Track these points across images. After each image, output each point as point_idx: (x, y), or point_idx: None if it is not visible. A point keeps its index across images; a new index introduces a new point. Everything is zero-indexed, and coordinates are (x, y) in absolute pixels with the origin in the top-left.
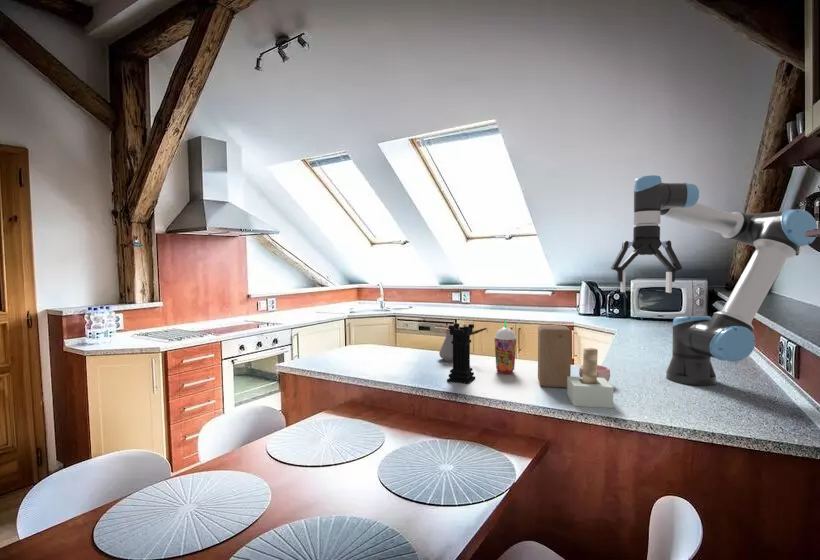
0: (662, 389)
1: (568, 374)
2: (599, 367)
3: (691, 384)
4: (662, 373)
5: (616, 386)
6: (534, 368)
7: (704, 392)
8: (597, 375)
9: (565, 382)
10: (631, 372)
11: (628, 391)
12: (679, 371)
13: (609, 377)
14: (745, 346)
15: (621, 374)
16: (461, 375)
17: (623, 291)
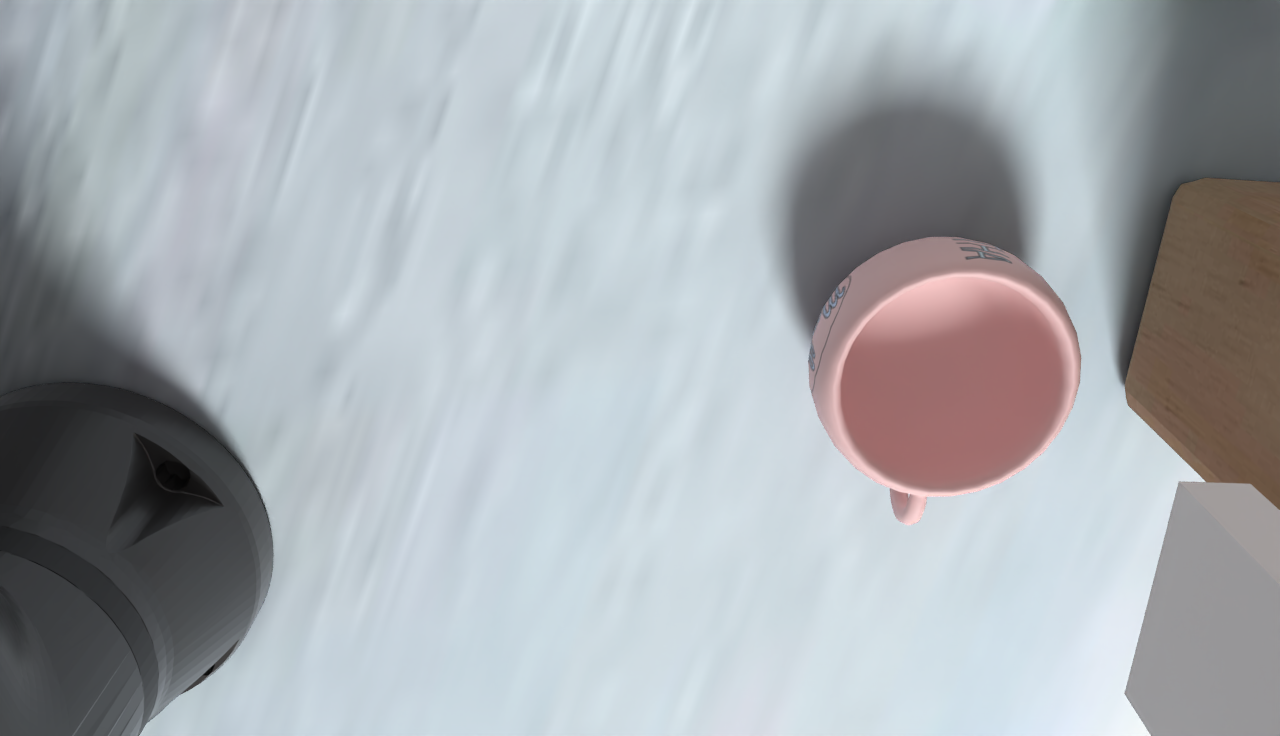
0: (411, 244)
1: (1250, 202)
2: (874, 458)
3: (139, 395)
4: (262, 695)
5: (756, 288)
6: None
7: (102, 196)
8: (966, 246)
9: (1238, 184)
10: (494, 698)
11: (710, 150)
12: (178, 508)
13: (831, 298)
14: None
15: (592, 635)
16: None
17: (1243, 500)
